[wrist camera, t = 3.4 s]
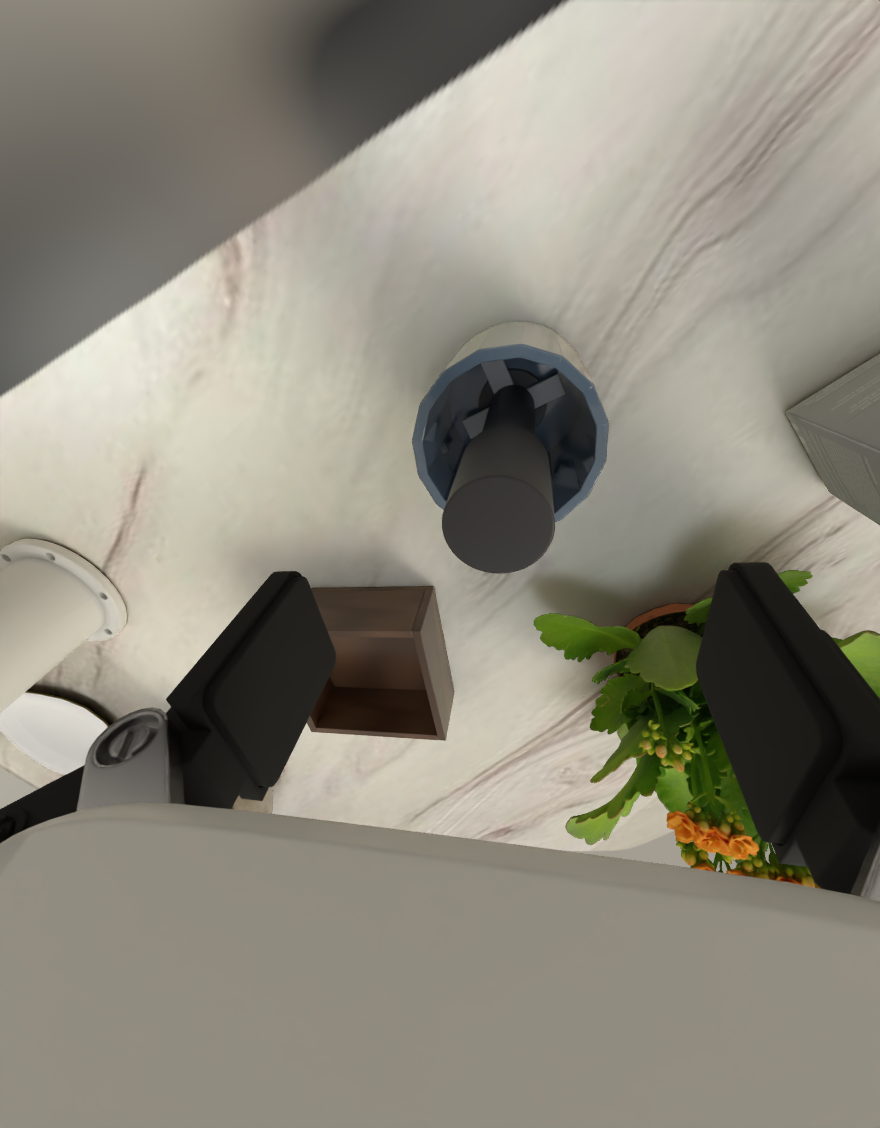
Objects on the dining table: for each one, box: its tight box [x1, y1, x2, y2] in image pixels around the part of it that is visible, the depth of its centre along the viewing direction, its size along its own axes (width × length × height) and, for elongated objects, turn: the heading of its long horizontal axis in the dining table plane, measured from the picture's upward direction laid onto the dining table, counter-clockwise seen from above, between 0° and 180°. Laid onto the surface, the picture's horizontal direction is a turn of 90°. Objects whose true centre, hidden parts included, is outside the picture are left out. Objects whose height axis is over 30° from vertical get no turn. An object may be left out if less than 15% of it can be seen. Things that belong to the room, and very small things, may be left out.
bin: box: [307, 586, 454, 740], centre depth 39 cm, size 13×13×6 cm
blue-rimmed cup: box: [412, 321, 609, 522], centre depth 23 cm, size 9×9×9 cm
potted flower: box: [534, 570, 880, 889], centre depth 28 cm, size 25×24×18 cm
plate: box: [0, 691, 110, 775], centre depth 62 cm, size 22×22×2 cm
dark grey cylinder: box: [442, 360, 565, 573], centre depth 20 cm, size 6×6×15 cm
